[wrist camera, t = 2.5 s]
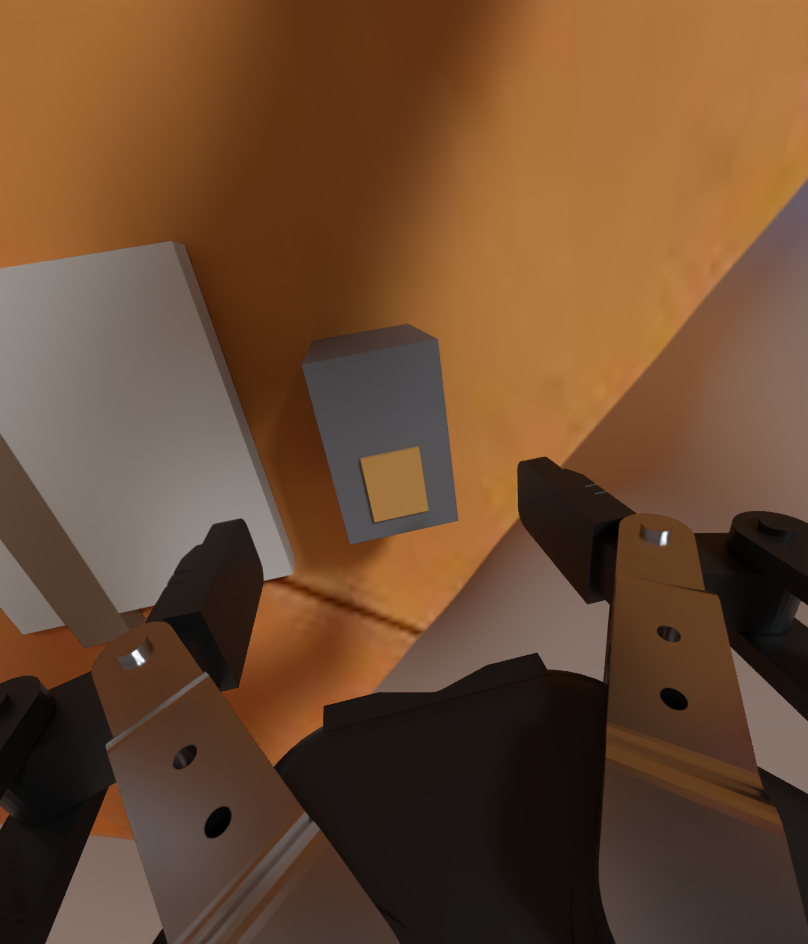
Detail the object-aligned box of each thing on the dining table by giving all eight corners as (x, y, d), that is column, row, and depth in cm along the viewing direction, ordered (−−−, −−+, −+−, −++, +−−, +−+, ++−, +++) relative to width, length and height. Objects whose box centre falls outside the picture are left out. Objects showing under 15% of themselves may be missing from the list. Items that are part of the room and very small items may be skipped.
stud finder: (407, 323, 20) (439, 339, 14) (426, 460, 24) (459, 523, 18) (312, 340, 20) (300, 365, 14) (346, 476, 24) (350, 547, 17)
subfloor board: (165, 191, 17) (149, 182, 15) (303, 582, 26) (301, 599, 25) (-244, 253, 16) (-303, 250, 14) (58, 637, 25) (41, 659, 24)
